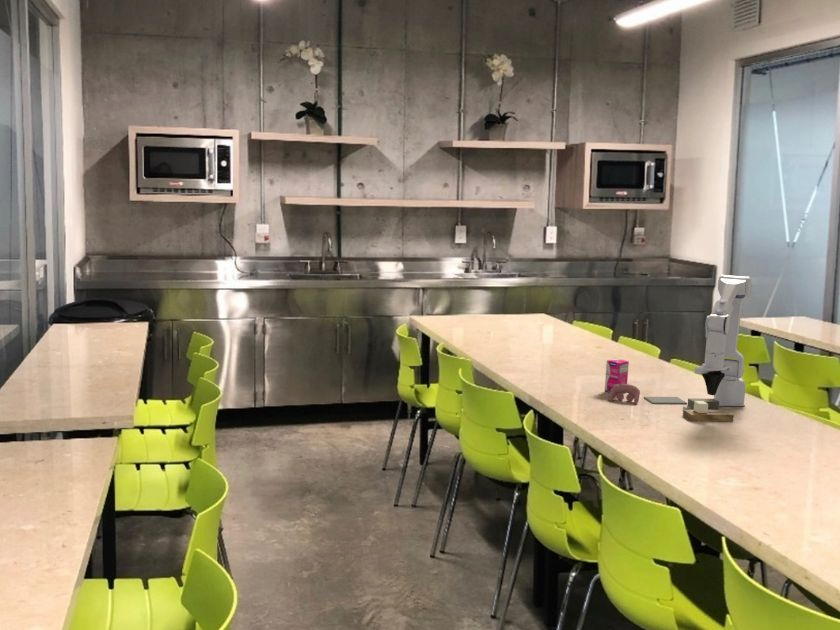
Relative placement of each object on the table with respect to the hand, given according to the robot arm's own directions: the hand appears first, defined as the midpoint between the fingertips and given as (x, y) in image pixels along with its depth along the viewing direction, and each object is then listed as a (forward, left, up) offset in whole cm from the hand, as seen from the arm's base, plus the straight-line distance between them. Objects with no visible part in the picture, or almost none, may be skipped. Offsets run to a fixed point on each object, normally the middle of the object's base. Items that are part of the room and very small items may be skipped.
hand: (711, 394), depth 267 cm
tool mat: (+6, -22, -8) cm, 24 cm away
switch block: (+1, 0, -8) cm, 8 cm away
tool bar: (-2, -10, -8) cm, 13 cm away
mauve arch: (+20, -22, -8) cm, 31 cm away
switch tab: (+3, 0, -6) cm, 6 cm away
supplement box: (+19, -35, -8) cm, 40 cm away
